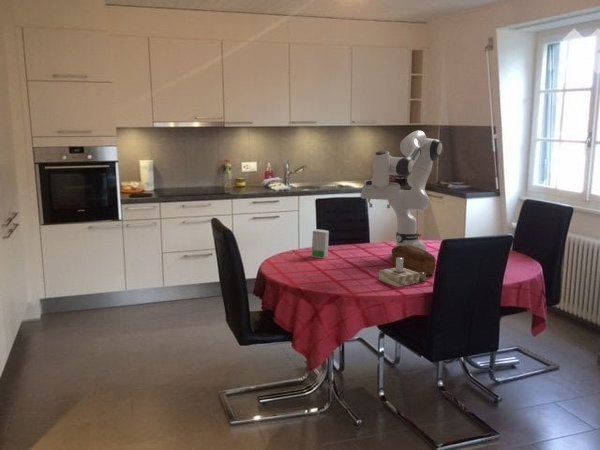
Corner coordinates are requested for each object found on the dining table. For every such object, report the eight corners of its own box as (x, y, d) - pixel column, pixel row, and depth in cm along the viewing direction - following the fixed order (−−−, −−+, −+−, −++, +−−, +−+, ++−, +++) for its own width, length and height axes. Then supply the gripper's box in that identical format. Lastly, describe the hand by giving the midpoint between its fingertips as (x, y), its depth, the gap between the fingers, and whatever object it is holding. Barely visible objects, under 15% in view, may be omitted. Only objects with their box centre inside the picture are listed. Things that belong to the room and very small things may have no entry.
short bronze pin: (421, 280, 292) (422, 271, 291) (427, 281, 289) (427, 273, 288) (416, 281, 290) (417, 272, 289) (421, 283, 287) (422, 274, 286)
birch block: (399, 276, 299) (400, 266, 298) (418, 282, 287) (419, 273, 286) (378, 280, 291) (379, 270, 290) (397, 287, 280) (398, 277, 279)
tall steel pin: (399, 280, 292) (400, 257, 289) (403, 281, 289) (405, 258, 287) (393, 281, 290) (394, 257, 288) (398, 282, 287) (399, 259, 285)
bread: (408, 262, 327) (409, 241, 324) (438, 275, 301) (440, 252, 299) (387, 265, 321) (388, 243, 319) (416, 278, 296) (417, 255, 294)
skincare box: (311, 257, 336) (311, 230, 333) (315, 254, 342) (315, 228, 339) (324, 258, 333) (325, 232, 330) (328, 256, 339) (329, 230, 336)
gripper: (400, 182, 307) (399, 207, 310) (362, 180, 311) (361, 205, 314) (400, 183, 301) (399, 209, 304) (361, 181, 305) (360, 207, 308)
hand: (379, 207), depth 309 cm, fingers open, 8 cm apart
